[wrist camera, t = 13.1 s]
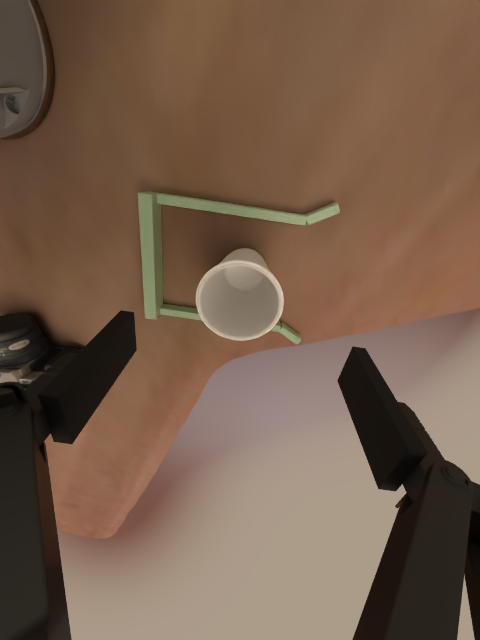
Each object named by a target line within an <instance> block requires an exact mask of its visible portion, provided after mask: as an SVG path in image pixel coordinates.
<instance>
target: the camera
mask: <svg viewBox="0 0 480 640" xmlns="http://www.w3.org/2000/svg"><path fill="white" fill-rule="evenodd" d="M80 351H81V350H77V349H75V348H73V347H67V348H64V347H59V346H55V345H53V344H52V343H50V342H49V341H47V340H46V339H45V338H44V336H43V333H42V332H41V330H40V328H39V326H38V325H37V324H36V322H35V321H34V318H33V317H32V316H30V315H29V314H23V313H17V314H7V315H4V316H0V383H3V382H9V381H10V382H18V383H20V384H22V385H23V387H24V390H25V389H26V388H27V387H28V386H29V385H30V384H32V383H33V382H34V381H35V380H36V379H37V378H38V377H39V376H40V375H41V374H43V372H44V371H45V370H47V369H48V368H50V366H51V365H52V364H53V363H54V362H55V361H56V360H57V359H58V358H60V357H62V356H64V355H66V354H68V353H75V354H78V353H79V352H80Z"/></svg>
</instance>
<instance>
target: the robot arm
mask: <svg viewBox="0 0 480 640" xmlns="http://www.w3.org/2000/svg"><path fill="white" fill-rule="evenodd" d="M53 84H54V66H53V56H52V49H51V44H50V40H49V36H48V32H47V28H46V25H45V22H44V19H43V16H42V14H41V11H40V9H39V6H38V4H37V2H36V0H0V139H13V138H18V137H21V136H24V135H26V134H28V133H29V132H31V131H32V130H34V129H35V128H36V127H37V126H38V125H39V123H40V122H41V121H42V119H43V118H44V116H45V114H46V112H47V110H48V108H49V105H50V101H51V97H52V92H53ZM136 350H137V349H136V335H135V321H134V312H127V311H120V312H119V313H118V314H117V315H116V316H115V317H114V318H113V319H112V320H111V321H110V322H109V323H108V324H107V325H106V326H105V327H104V328H103V329H102V330H101V331H100V332H99V333H98V334H97V335H96V336H95V337H94V338H93V339H92V340H91V341H90V342H89V343H88V344H87V345H86V346H85V347H84V348H83V349H82V350H81V351H80V352H79V353H78V354H75V353H68V354H66V355H64V356H62V357H60V358H58V359H57V360H56V361H55V362H54V363H53V364H52V365H51V366H50V368H48V369H47V370H45V371H44V372H43V374H41V375H40V376H39V377H38V378H37V379H36V380H35V381H34V382H33V383H32V384H30V385H29V386H28V387H27V388H26V389H25V390H24V387H23V385H22V384H20V383H18V382H10V381H9V382H3V383H0V640H71V634H70V626H69V618H68V611H67V603H66V595H65V589H64V580H63V573H62V565H61V558H60V550H59V543H58V535H57V527H56V520H55V512H54V505H53V497H52V490H51V482H50V475H49V467H48V460H47V452H46V445H45V443H44V441H45V439H46V438H47V437H48V436H49V434H50V433H51V435H52V438H53V441H54V442H60V443H67V444H73V442H74V441H75V439H76V438H77V436H78V435H79V433H80V432H81V431H82V429H83V428H84V426H85V425H86V423H87V422H88V420H89V419H90V417H91V416H92V414H93V413H94V411H95V410H96V409H97V407H98V406H99V404H100V403H101V401H102V400H103V398H104V397H105V395H106V394H107V392H108V391H109V390H110V388H111V387H112V385H113V384H114V382H115V381H116V379H117V378H118V376H119V375H120V373H121V372H122V370H123V369H124V368H125V366H126V365H127V363H128V362H129V360H130V359H131V357H132V356H133V354H134V353H135V351H136ZM338 383H339V386H340V389H341V391H342V394H343V397H344V399H345V402H346V404H347V407H348V409H349V412H350V415H351V418H352V420H353V423H354V425H355V428H356V431H357V434H358V436H359V439H360V442H361V444H362V447H363V449H364V452H365V455H366V457H367V460H368V463H369V465H370V468H371V471H372V473H373V476H374V479H375V481H376V484H377V486H378V489H383V490H390V491H396V490H397V489H398V488H399V487H400V486H401V485H402V484H403V486H404V488H405V490H406V492H407V493H406V494H405V495H404V497H403V498H402V499H401V500H400V501H399V502H398V503H397V505H396V506H395V507H396V508H399V507H400V508H399V510H398V513H397V516H396V519H395V522H394V524H393V527H392V530H391V533H390V536H389V538H388V541H387V544H386V547H385V550H384V553H383V555H382V558H381V561H380V564H379V567H378V570H377V573H376V575H375V578H374V581H373V583H372V586H371V590H370V592H369V595H368V598H367V600H366V603H365V606H364V609H363V612H362V614H361V617H360V620H359V623H358V626H357V629H356V631H355V634H354V637H353V640H457V634H458V625H459V616H460V606H461V598H462V589H463V579H464V574H465V580H466V586H467V593H468V599H469V605H470V611H471V618H472V625H473V631H474V637H475V640H480V485H479V484H476V483H474V482H472V481H471V480H470V479H469V477H468V476H467V475H466V474H465V473H464V472H463V470H461V469H460V468H459V467H457V466H456V465H455V464H453V463H451V462H449V461H446V460H445V459H444V458H443V457H442V455H441V453H440V452H439V450H438V449H437V447H436V445H435V444H434V443H433V441H432V439H431V438H430V436H429V435H428V433H427V432H426V431H425V428H424V427H423V425H422V424H421V423H420V421H419V420H418V418H417V416H416V415H415V413H414V412H413V411H412V410H411V409H410V408H409V407H408V406H407V405H406V404H405V403H401V402H397V400H396V399H395V397H394V395H393V394H392V392H391V390H390V389H389V387H388V385H387V384H386V382H385V380H384V379H383V377H382V376H381V374H380V372H379V370H378V369H377V367H376V366H375V364H374V362H373V360H372V359H371V357H370V356H369V354H368V352H367V351H366V349H365V348H359V347H352V350H351V352H350V354H349V356H348V358H347V361H346V363H345V365H344V367H343V369H342V372H341V374H340V376H339V379H338Z"/></svg>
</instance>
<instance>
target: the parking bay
mask: <svg viewBox="0 0 480 640" xmlns="http://www.w3.org/2000/svg"><path fill="white" fill-rule="evenodd" d="M162 204H163V205H170V206H176V207H183V208H190V209H196V210H203V211H210V212H216V213H223V214H230V215H236V216H243V217H250V218H256V219H263V220H270V221H276V222H283V223H289V224H296V225H303V226H305V225H306V224H307V225H311V224H313V223H316V222H318V221H321V220H323V219H326V218H328V217H331V216H333V215H336V214H338V213H340V211H339V206H338V204H337V203H335V202H334V203H331V204H329V205H326V206H324V207H322V208H319V209H317V210H314V211H312V212H309V213H307V214H298V213H291V212H285V211H278V210H272V209H265V208H258V207H252V206H245V205H238V204H232V203H225V202H219V201H212V200H205V199H199V198H192V197H185V196H179V195H172V194H165V193H159V192H152V191H145V192H138V207H139V224H140V241H141V258H142V275H143V293H144V310H145V318H148V319H155V320H156V319H157V318H158V316H159V315H160V314H161V315H168V316H175V317H182V318H188V319H195V320H202V319H201V317H200V315H199V313H198V310H197V308H191V307H184V306H177V305H170V304H163V261H162ZM270 331H277V332H280V333H281V334H282V335H284V336H285V337H286V338H288V339H289V340H291V341H292V342H293V343H295V344H296V345H297V344H298V343H299V342H300V341H301V337H300V334H298V333H297V332H295V331H294V330H293V329H291V328H290V327H289V326H287V325H286V324H285V323H283V322H281V323H280V321H279V320H278V322H277V323H276V325H275V326H274V327H273V328H272V329H271V330H270Z"/></svg>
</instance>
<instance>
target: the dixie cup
mask: <svg viewBox="0 0 480 640" xmlns="http://www.w3.org/2000/svg"><path fill="white" fill-rule="evenodd" d="M283 305H284V298H283V292H282V289H281V286H280V284H279V282H278V281H277V279H276V278H275V277H274V275H273V274H272V273H271V272H270V270H269V268H268V267H267V265H266V263H265V261H264V259H263V257H262V256H261V255H260V254H259V253H257V252H256V251H255V250H252V249H249V248H240V249H237V250H234V251H232V252H231V253H230V254H229V255H227V256H226V257H225V258H224V259H223V260H222V261H221V262H220V263H219V264H218V265H216V266H215V267H213V268H212V269H210V270H209V271H208V272H207V273H206V274H205V275H204V276H203V278H202V279H201V281H200V283H199V285H198V288H197V291H196V307H197V310H198V313H199V315H200V317H201V319H202V321H203V322H204V323H205V325H206V326H207V327H208V328H209V329H211V330H212V331H213V332H215V333H216V334H218V335H220V336H222V337H224V338H228V339H232V340H250V339H254V338H257V337H260V336H262V335H264V334H265V333H267V332H268V331H270V330H271V329H272V328H273V327H274V326H275V325H276V323H277V322H278V320H279V318H280V316H281V314H282V311H283Z"/></svg>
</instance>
